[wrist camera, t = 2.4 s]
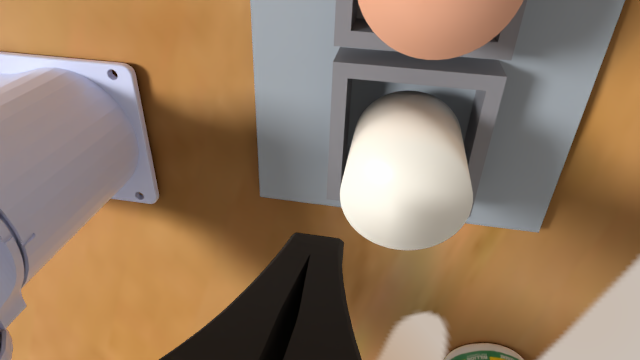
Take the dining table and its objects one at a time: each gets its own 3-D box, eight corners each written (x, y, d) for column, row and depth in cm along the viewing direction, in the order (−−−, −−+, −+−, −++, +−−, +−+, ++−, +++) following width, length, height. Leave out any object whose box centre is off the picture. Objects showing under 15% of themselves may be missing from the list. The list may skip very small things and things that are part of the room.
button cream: (350, 178, 20) (336, 241, 17) (358, 85, 18) (343, 134, 14) (450, 190, 20) (458, 258, 16) (471, 96, 18) (487, 149, 14)
